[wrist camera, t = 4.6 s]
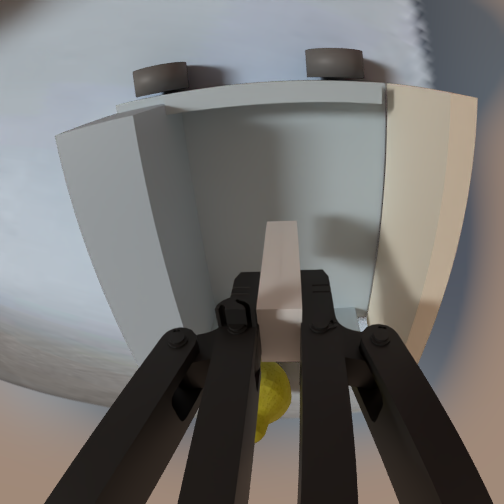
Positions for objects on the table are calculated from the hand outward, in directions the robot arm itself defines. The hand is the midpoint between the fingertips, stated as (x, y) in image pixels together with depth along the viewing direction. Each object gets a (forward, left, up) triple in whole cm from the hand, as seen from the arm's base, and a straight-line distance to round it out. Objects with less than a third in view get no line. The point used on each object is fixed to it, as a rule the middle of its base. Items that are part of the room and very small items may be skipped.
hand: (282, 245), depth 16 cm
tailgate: (+6, 0, -3) cm, 7 cm away
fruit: (-3, -17, -6) cm, 18 cm away
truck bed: (-2, 0, -6) cm, 6 cm away
